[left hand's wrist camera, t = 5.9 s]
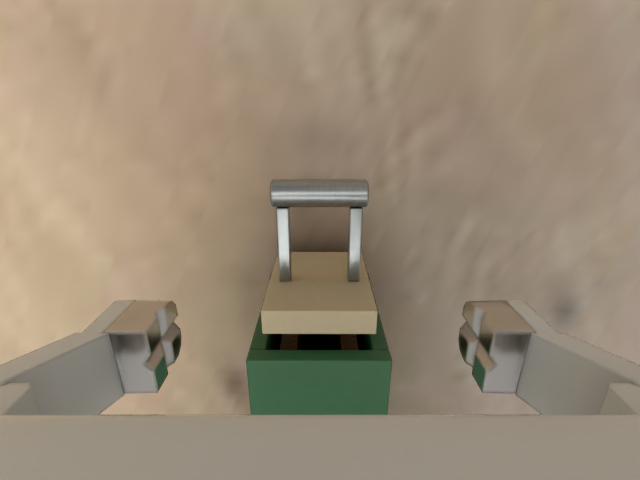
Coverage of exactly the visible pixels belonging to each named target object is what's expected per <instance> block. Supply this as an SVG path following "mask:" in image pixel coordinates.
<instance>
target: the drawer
mask: <svg viewBox="0 0 640 480" xmlns="http://www.w3.org/2000/svg"><path fill="white" fill-rule="evenodd" d="M368 200H369V184H368V181H367V180H272V181H271V184H270V201H271V205H272V206H273V207H277V208H276V220H277V243H278V253H277V257H276V260H275V264H274V267H273V271H272V274H271V278H270V281H269V285H268V288H267V291H266V295H265V298H264V302H263V305H262V309H261V321H262V333H263V334H282V339H281V345H280V350H359V349H358V342H357V336H356V334H376V328H377V313H378V311H377V307H376V304H375V300H374V296H373V293H372V289H371V286H370V282H369V278H368V275H367V271H366V267H365V264H364V260H363V257H362V253H361V240H362V218H363V208H362V207H366V206H367V205H368ZM290 207H349V226H348V252H291V229H290Z"/></svg>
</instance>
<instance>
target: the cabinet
mask: <svg viewBox="0 0 640 480" xmlns="http://www.w3.org/2000/svg"><path fill="white" fill-rule="evenodd" d="M271 274H272V273H271ZM367 275H368V274H367ZM270 278H271V275H270ZM368 278H369V275H368ZM369 280H370V278H369ZM369 282H370V281H369ZM268 285H269V284H268ZM370 286H371V284H370ZM267 288H268V287H267ZM371 289H372V287H371ZM372 293H373V291H372ZM265 295H266V294H265ZM373 296H374V295H373ZM374 300H375V298H374ZM263 302H264V301H263ZM375 304H376V302H375ZM376 307H377V305H376ZM261 309H262V308H261ZM377 311H378V309H377ZM356 336H357V342H358V349H359V350H280V345H281V339H282V334H263V333H262V321H261V312H260V315H259V319H258V322H257V325H256V329H255V332H254V336H253V339H252V343H251V346H250V351H249V353H248V356H247V360H246V364H247V375H248V387H249V398H250V409H251V415H387V412H388V401H389V390H390V378H391V367H392V359H391V355H390V352H389V348H388V345H387V341H386V338H385V334H384V331H383V327H382V323H381V320H380V316H379V313H377V328H376V334H356Z"/></svg>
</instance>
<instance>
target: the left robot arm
mask: <svg viewBox="0 0 640 480" xmlns="http://www.w3.org/2000/svg"><path fill="white" fill-rule="evenodd" d="M177 315H178V313H177V309H176V304H175V303H174V302H173V301H149V300H137V301H136V300H119V301H115V302H114V303H113V304H112V305H111V306H110V307H109V308H108V309H106V310H105V311H104V312H103V313H102V314H101V315H100V316H99V317H98V318H97V319H96V320H95V321H94V322H93V323H92V324H91V325H90V326H89V327H88V328H86V329H85V330H84V331H83V332H82V333H75V334H72V335H70V336H68V337H65V338H63V339H61V340H58V341H56V342H54V343H51V344H49V345H47V346H44V347H42V348H39V349H37V350H35V351H32V352H30V353H28V354H25V355H23V356H21V357H18V358H16V359H14V360H11V361H9V362H7V363H4V364H2V365H0V480H640V365H638V364H636V363H633V362H631V361H629V360H626V359H624V358H621V357H619V356H617V355H614V354H612V353H610V352H607V351H605V350H603V349H600V348H598V347H596V346H593V345H591V344H589V343H586V342H584V341H582V340H579V339H577V338H575V337H572V336H570V335H568V334H565V333H558V332H557V331H556V330H555V329H554V328H553V327H551V326H550V325H549V324H548V323H547V322H546V321H545V320H544V319H543V318H542V317H541V316H540V315H539V314H538V313H537V312H536V311H535V310H534V309H533V308H532V307H530V306H529V305H528V304H527V303H526V302H525V301H522V300H501V301H468V302H466V303H465V305H464V308H463V313H462V315H463V317H464V318H465V320H466V321H467V322H466V323H465V324H464V325H463V326H462V327H461V328H460V332H459V348H460V352H461V355H462V357H463V359H464V361H465V362H466V363H467V364H469V365H470V366H472V367H473V370H472V375H473V377H474V379H475V380H476V382H477V384H478V386H479V387H480V389H481V391H482V393H515V394H516V395H517V396H518V397H519V398H521V399H522V400H523V401H524V402H526V403H527V404H528V405H530V406H531V407H532V408H534V409H535V410H536V411H537V412H539V413H540V414H541V415H99V414H100V413H101V412H103V411H104V410H105V409H107V408H108V407H109V406H110V405H112V404H113V403H114V402H116V401H117V400H118V399H120V398H121V397H122V396H124V394H125V393H158V391H159V389H160V387H161V386H162V384H163V382H164V380H165V379H166V377H167V375H168V370H167V367H168V366H170V365H171V364H173V363H174V362H175V361H176V359H177V357H178V355H179V351H180V347H181V332H180V328H179V327H178V326H177V325H176V324H175V323H174V322H173V321H174V320H175V318H176V317H177Z"/></svg>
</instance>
